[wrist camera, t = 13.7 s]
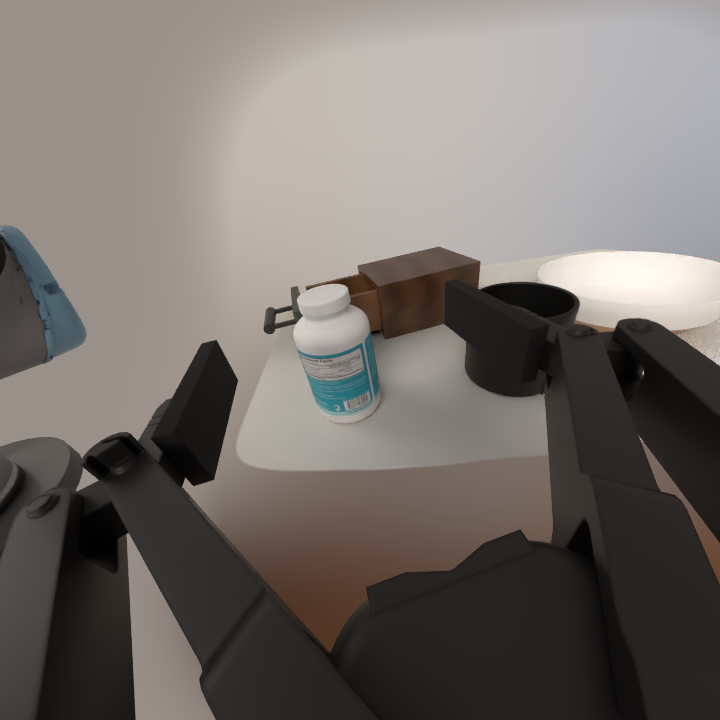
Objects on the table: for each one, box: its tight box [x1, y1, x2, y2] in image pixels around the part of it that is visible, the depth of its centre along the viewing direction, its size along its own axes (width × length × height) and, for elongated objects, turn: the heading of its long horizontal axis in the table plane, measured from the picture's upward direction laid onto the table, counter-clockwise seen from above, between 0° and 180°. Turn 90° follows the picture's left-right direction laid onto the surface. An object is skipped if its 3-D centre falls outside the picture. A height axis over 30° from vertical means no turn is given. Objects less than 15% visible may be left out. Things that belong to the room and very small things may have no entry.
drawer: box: [264, 273, 382, 334], centre depth 44 cm, size 20×11×7 cm, turn 104°
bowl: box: [536, 251, 720, 333], centre depth 36 cm, size 20×20×6 cm
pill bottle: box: [293, 284, 381, 423], centre depth 28 cm, size 8×7×14 cm
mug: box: [465, 282, 580, 397], centre depth 30 cm, size 9×12×9 cm
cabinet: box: [358, 247, 480, 339], centre depth 46 cm, size 16×13×9 cm
